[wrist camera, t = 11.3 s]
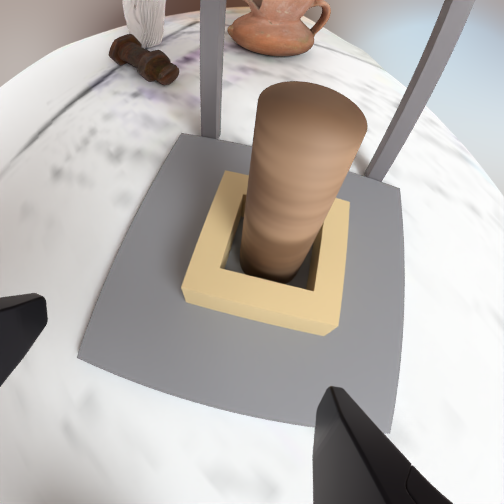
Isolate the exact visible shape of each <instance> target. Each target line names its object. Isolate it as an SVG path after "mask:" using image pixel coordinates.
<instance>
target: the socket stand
mask: <svg viewBox="0 0 504 504" xmlns="http://www.w3.org/2000/svg"><path fill="white" fill-rule="evenodd" d="M474 2H475V0H445V1H444V4H443V6H442V9H441V11H440V14H439V16H438V19H437V21H436V24H435V26H434V29H433V31H432V33H431V36H430V38H429V41H428V43H427V45H426V48H425V50H424V52H423V55H422V57H421V59H420V61H419V64H418V66H417V68H416V70H415V73H414V75H413V77H412V79H411V81H410V83H409V85H408V88H407V90H406V92H405V94H404V96H403V98H402V100H401V102H400V104H399V106H398V109H397V111H396V113H395V115H394V117H393V119H392V121H391V123H390V125H389V127H388V129H387V131H386V133H385V135H384V137H383V139H382V141H381V143H380V144H379V146H378V148H377V150H376V152H375V154H374V156H373V158H372V160H371V162H370V164H369V166H368V167H367V169H366V177H365V176H361V175H358V174H355V173H352V172H349V171H348V173H347V175H346V177H345V179H344V181H343V183H342V186H341V188H340V190H339V192H338V194H337V196H336V198H335V200H334V202H333V204H332V206H331V208H330V210H329V212H328V214H327V216H326V218H325V220H324V222H323V224H322V226H321V228H320V230H319V232H318V234H317V236H316V238H315V240H314V242H313V244H312V246H311V248H310V250H309V252H308V254H307V256H306V257H305V259H304V261H303V263H302V265H301V267H300V269H299V271H298V273H297V274H296V276H295V277H294V278H293V279H292V280H291V281H290V282H289V283H287V284H281V283H277V282H273V281H269V280H265V279H261V278H257V277H253V276H249V275H245V274H244V272H243V270H242V268H241V265H240V248H241V239H242V230H243V221H244V212H245V204H246V195H247V187H248V178H249V170H250V161H251V153H252V146H248V145H243V144H239V143H234V142H229V141H224V140H218V138H219V136H220V132H221V97H222V71H223V49H224V30H225V13H226V0H201V2H200V4H201V5H200V8H201V9H200V97H201V133H202V136H196V135H190V134H184V133H181V135H180V137H179V138H178V140H177V142H176V143H175V145H174V147H173V148H172V150H171V152H170V153H169V155H168V157H167V158H166V160H165V162H164V164H163V165H162V167H161V169H160V171H159V172H158V174H157V176H156V178H155V180H154V181H153V183H152V185H151V187H150V189H149V191H148V192H147V194H146V196H145V198H144V200H143V202H142V204H141V206H140V208H139V210H138V212H137V214H136V216H135V218H134V220H133V222H132V224H131V226H130V228H129V230H128V232H127V234H126V236H125V238H124V240H123V242H122V244H121V247H120V249H119V251H118V253H117V255H116V258H115V260H114V262H113V264H112V267H111V269H110V271H109V274H108V276H107V278H106V281H105V283H104V285H103V288H102V290H101V293H100V295H99V298H98V300H97V303H96V305H95V308H94V310H93V313H92V316H91V318H90V321H89V324H88V326H87V329H86V332H85V335H84V338H83V341H82V344H81V346H80V349H79V352H78V355H77V358H79V359H81V360H83V361H85V362H87V363H90V364H92V365H94V366H96V367H99V368H101V369H103V370H106V371H108V372H110V373H113V374H115V375H118V376H120V377H123V378H125V379H128V380H130V381H133V382H136V383H138V384H141V385H144V386H147V387H149V388H152V389H155V390H158V391H161V392H164V393H167V394H170V395H173V396H176V397H179V398H183V399H186V400H189V401H193V402H196V403H200V404H203V405H207V406H210V407H214V408H218V409H222V410H226V411H230V412H234V413H238V414H243V415H247V416H252V417H257V418H261V419H267V420H272V421H277V422H283V423H289V424H295V425H301V426H308V427H315V422H316V411H317V407H318V405H319V403H320V401H321V399H322V397H323V395H324V393H325V391H326V389H327V388H328V387H329V386H335V387H341V388H343V389H344V390H345V391H346V392H347V393H348V394H349V395H350V396H351V397H352V399H353V400H354V401H355V402H356V403H357V404H358V405H359V406H360V408H361V409H362V410H363V411H364V412H365V413H366V414H367V415H368V417H369V418H370V419H371V420H372V421H373V422H374V423H375V424H376V425H377V427H378V428H379V429H380V430H381V431H382V432H383V433H390V430H391V425H392V420H393V414H394V408H395V401H396V394H397V387H398V379H399V371H400V361H401V350H402V338H403V321H404V287H405V270H404V236H403V219H402V206H401V195H400V188H397V187H394V186H392V185H389V184H386V183H383V182H382V180H383V178H384V177H385V175H386V173H387V172H388V170H389V168H390V167H391V165H392V163H393V162H394V160H395V158H396V157H397V155H398V153H399V152H400V150H401V148H402V146H403V145H404V143H405V141H406V139H407V138H408V136H409V134H410V132H411V131H412V129H413V127H414V125H415V123H416V122H417V120H418V118H419V116H420V114H421V113H422V111H423V109H424V107H425V105H426V103H427V101H428V99H429V98H430V96H431V94H432V92H433V90H434V88H435V86H436V84H437V82H438V80H439V78H440V76H441V74H442V72H443V70H444V68H445V66H446V64H447V62H448V60H449V58H450V56H451V54H452V52H453V49H454V47H455V45H456V43H457V41H458V39H459V36H460V34H461V32H462V30H463V27H464V25H465V23H466V21H467V18H468V16H469V14H470V11H471V9H472V6H473V4H474Z"/></svg>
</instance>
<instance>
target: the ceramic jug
mask: <svg viewBox="0 0 504 504" xmlns="http://www.w3.org/2000/svg"><path fill="white" fill-rule="evenodd" d="M244 1H246V2H247V3H248V4H249V6H250V9H251V12H250V13H248V14H246V15H244V16H241V17H239V18H238V19H236V20H235V21H234V22H233V24H232V25H230V26H229V27H228V33H229V35H230V36H231V37H232V39H233V40H234V41H235V42H236V43H237V44H239V45H240V46H242V47H244V48H246V49H248V50H250V51H253V52H256V53H260V54H265V55H271V56H293V55H298V54H302V53H305V52H307V51H308V50H309V49H311V47H312V46H313V43H314V36H315V34H316V33H317V32H318V31H319V30H320V29H321V28H322V27H323V26H324V25H325V24H326V22H327V21H328V19H329V17H330V13H331V9H330V6H329V4H328V3H327V2H325V1H323V0H244ZM315 6H321V7H322V14H321V17H320V19H319V20H318V21H317V23H316V24H315V25H314V26H313V27H312V28H311V29H309V28H308V27H307V26H306V25H305V24H304V23H303V22H302V21H301V20H300V18H301V17H302V16H303V15H304V14H305V13H306V11H307V10H308V9H310V8H312V7H315Z"/></svg>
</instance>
